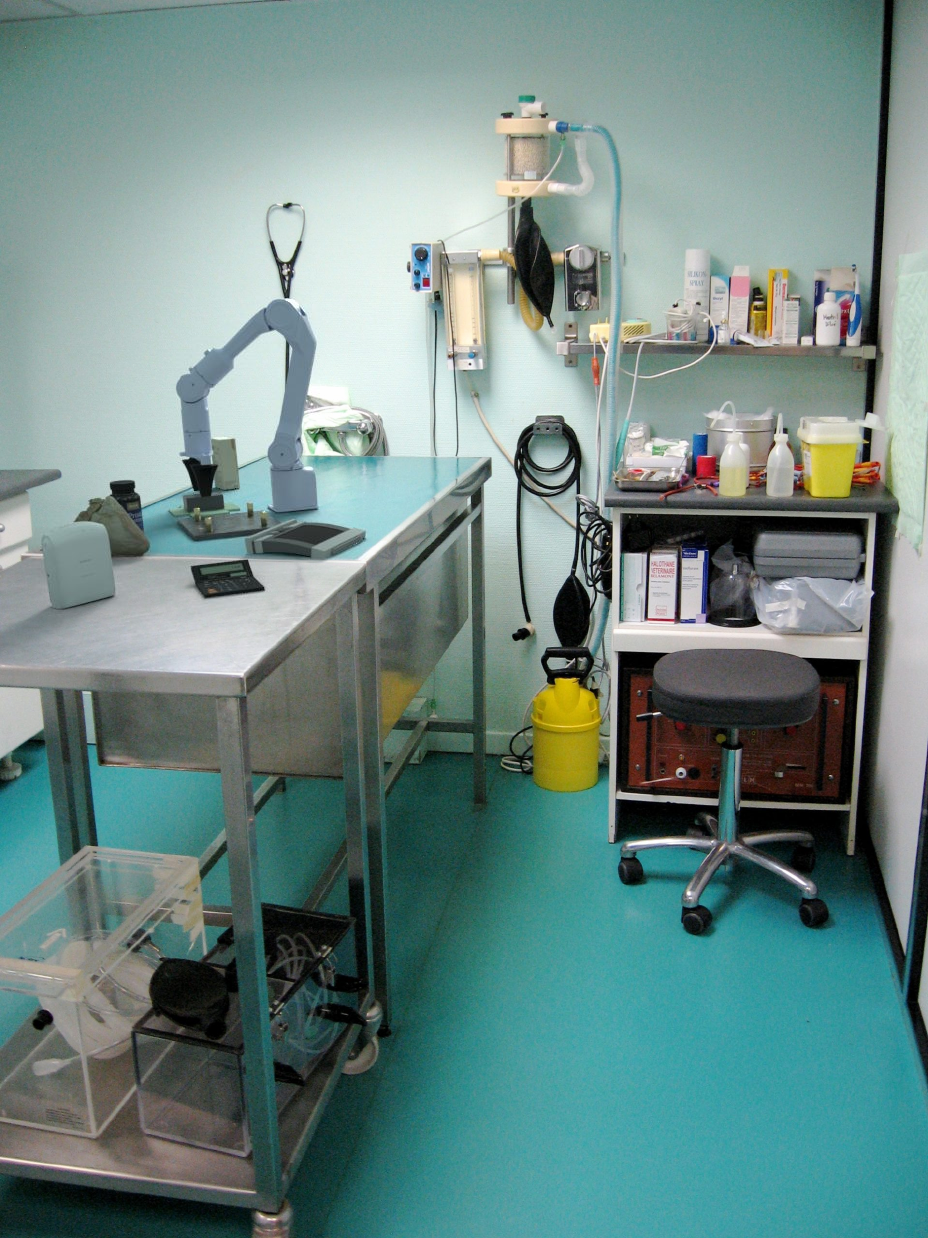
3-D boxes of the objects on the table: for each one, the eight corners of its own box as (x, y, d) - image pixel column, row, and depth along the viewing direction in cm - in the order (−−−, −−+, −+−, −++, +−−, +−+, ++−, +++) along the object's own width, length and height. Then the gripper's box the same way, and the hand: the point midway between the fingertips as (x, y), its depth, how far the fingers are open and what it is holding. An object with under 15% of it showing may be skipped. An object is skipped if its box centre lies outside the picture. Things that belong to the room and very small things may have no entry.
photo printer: (60, 611, 159) (49, 530, 156) (45, 606, 162) (34, 527, 158) (120, 596, 167) (111, 518, 163) (105, 591, 170) (96, 515, 166)
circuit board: (229, 504, 242) (227, 487, 241) (243, 515, 230) (242, 496, 228) (166, 511, 236) (164, 493, 235) (178, 522, 224) (176, 503, 223)
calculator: (205, 600, 165) (203, 581, 164) (192, 582, 175) (190, 565, 174) (264, 592, 168) (263, 573, 167) (248, 575, 178) (247, 558, 178)
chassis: (263, 514, 226) (261, 498, 225) (286, 530, 211) (285, 513, 210) (177, 524, 219) (176, 507, 218) (195, 540, 204) (193, 522, 203)
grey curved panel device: (291, 519, 207) (366, 516, 201) (294, 542, 209) (369, 540, 203) (244, 538, 192) (324, 535, 186) (248, 563, 193) (327, 561, 187)
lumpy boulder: (127, 572, 188) (54, 541, 190) (153, 578, 199) (83, 549, 201) (151, 513, 188) (78, 482, 190) (176, 522, 199) (106, 493, 201)
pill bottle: (135, 541, 204) (128, 484, 201) (106, 540, 206) (99, 484, 202) (150, 534, 210) (144, 479, 207) (122, 533, 211) (115, 478, 208)
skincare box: (240, 488, 258) (236, 438, 255) (223, 490, 256) (219, 439, 252) (230, 485, 263) (226, 435, 260) (213, 487, 261) (209, 437, 258)
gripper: (171, 428, 232) (177, 489, 236) (184, 435, 220) (190, 500, 224) (204, 426, 235) (209, 487, 239) (218, 433, 223) (223, 497, 227)
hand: (202, 493), depth 232 cm, fingers open, 7 cm apart
